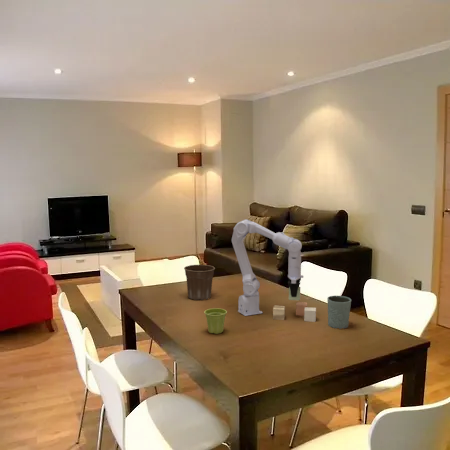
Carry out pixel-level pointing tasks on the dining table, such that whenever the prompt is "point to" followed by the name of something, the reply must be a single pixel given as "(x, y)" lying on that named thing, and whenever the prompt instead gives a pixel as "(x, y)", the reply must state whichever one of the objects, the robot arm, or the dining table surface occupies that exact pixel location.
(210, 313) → the plant pot
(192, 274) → the plant pot
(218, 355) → the dining table surface
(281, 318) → the maple block
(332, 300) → the blue-grey tapered cup
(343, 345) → the dining table surface
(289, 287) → the sage block
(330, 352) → the dining table surface
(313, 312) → the offwhite block
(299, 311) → the terracotta block
